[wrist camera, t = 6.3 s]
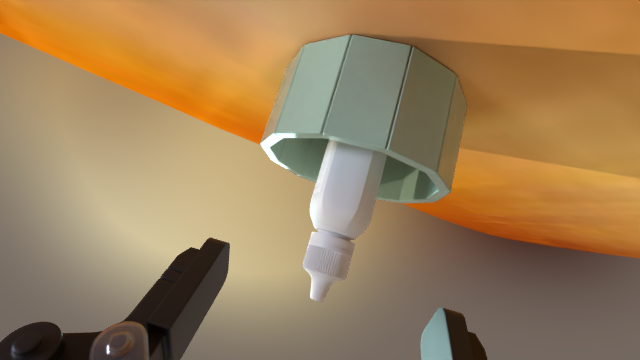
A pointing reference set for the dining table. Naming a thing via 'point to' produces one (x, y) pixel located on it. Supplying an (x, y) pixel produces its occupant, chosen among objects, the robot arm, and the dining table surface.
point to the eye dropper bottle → (340, 211)
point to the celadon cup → (370, 114)
